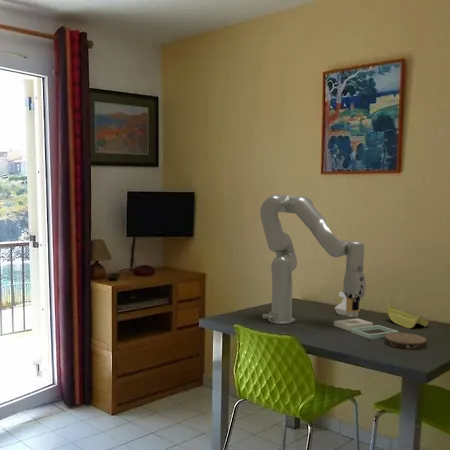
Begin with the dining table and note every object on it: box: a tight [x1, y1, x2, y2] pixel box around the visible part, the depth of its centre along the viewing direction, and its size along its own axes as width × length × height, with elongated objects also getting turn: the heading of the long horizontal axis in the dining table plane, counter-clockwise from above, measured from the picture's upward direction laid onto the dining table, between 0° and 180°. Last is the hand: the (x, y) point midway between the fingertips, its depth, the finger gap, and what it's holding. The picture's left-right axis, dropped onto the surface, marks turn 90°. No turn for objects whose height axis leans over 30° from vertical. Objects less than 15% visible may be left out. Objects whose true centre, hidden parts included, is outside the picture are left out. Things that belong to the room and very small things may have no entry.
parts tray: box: [349, 324, 400, 342], centre depth 227 cm, size 16×12×2 cm
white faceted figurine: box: [334, 291, 361, 316], centre depth 267 cm, size 8×14×14 cm, turn 36°
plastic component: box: [387, 304, 430, 330], centre depth 250 cm, size 20×7×10 cm
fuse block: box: [333, 317, 374, 331], centre depth 239 cm, size 14×10×3 cm
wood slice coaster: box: [384, 332, 427, 351], centre depth 214 cm, size 16×16×3 cm
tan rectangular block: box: [346, 298, 361, 318], centre depth 238 cm, size 5×3×8 cm, turn 117°
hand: (352, 308), depth 238 cm, fingers closed on tan rectangular block, 3 cm apart
